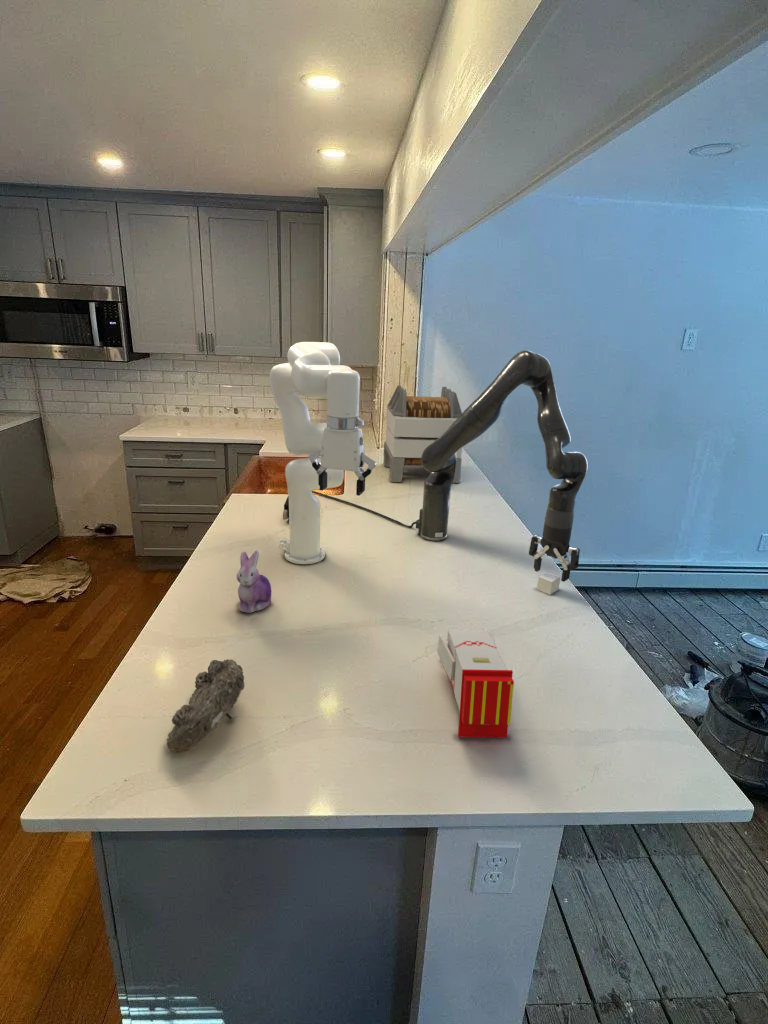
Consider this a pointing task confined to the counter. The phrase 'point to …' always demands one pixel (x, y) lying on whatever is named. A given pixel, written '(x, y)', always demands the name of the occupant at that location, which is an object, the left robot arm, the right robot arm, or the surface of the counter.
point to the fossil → (206, 705)
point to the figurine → (252, 585)
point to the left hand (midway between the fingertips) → (341, 491)
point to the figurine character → (286, 510)
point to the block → (548, 583)
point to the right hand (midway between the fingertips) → (550, 575)
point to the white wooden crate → (417, 428)
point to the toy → (478, 682)
